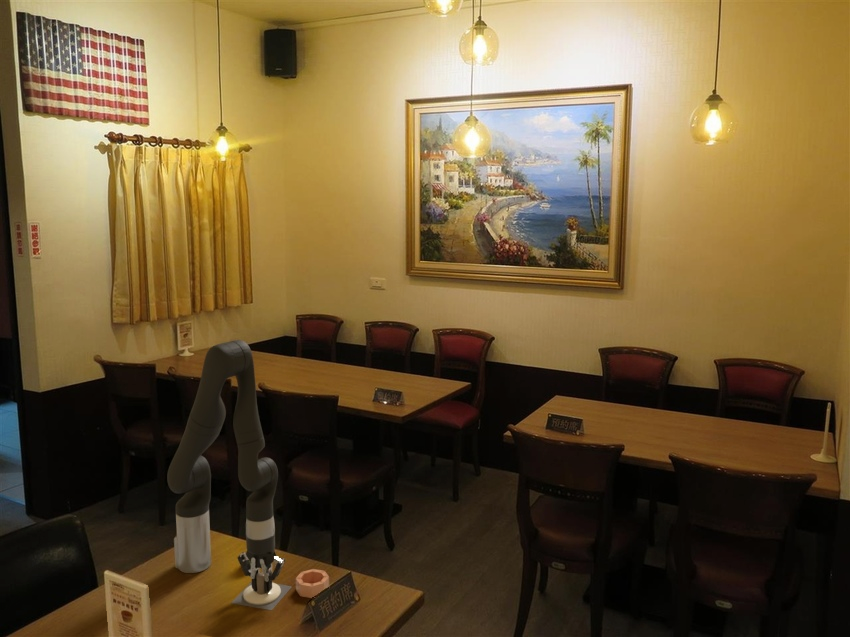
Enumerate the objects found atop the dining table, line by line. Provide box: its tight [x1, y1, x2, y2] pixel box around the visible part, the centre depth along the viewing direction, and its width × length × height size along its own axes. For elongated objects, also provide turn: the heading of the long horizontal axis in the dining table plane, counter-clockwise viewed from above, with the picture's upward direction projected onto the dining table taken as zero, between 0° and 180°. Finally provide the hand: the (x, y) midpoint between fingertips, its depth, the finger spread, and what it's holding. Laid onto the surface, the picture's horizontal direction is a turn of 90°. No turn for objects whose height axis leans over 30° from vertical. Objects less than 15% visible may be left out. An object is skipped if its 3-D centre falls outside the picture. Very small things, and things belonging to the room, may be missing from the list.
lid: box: [243, 571, 281, 605], centre depth 189 cm, size 10×10×6 cm
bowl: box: [295, 568, 330, 599], centre depth 193 cm, size 8×8×4 cm
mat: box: [231, 581, 293, 611], centre depth 190 cm, size 12×12×1 cm
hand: (262, 590), depth 190 cm, fingers closed on lid, 2 cm apart
